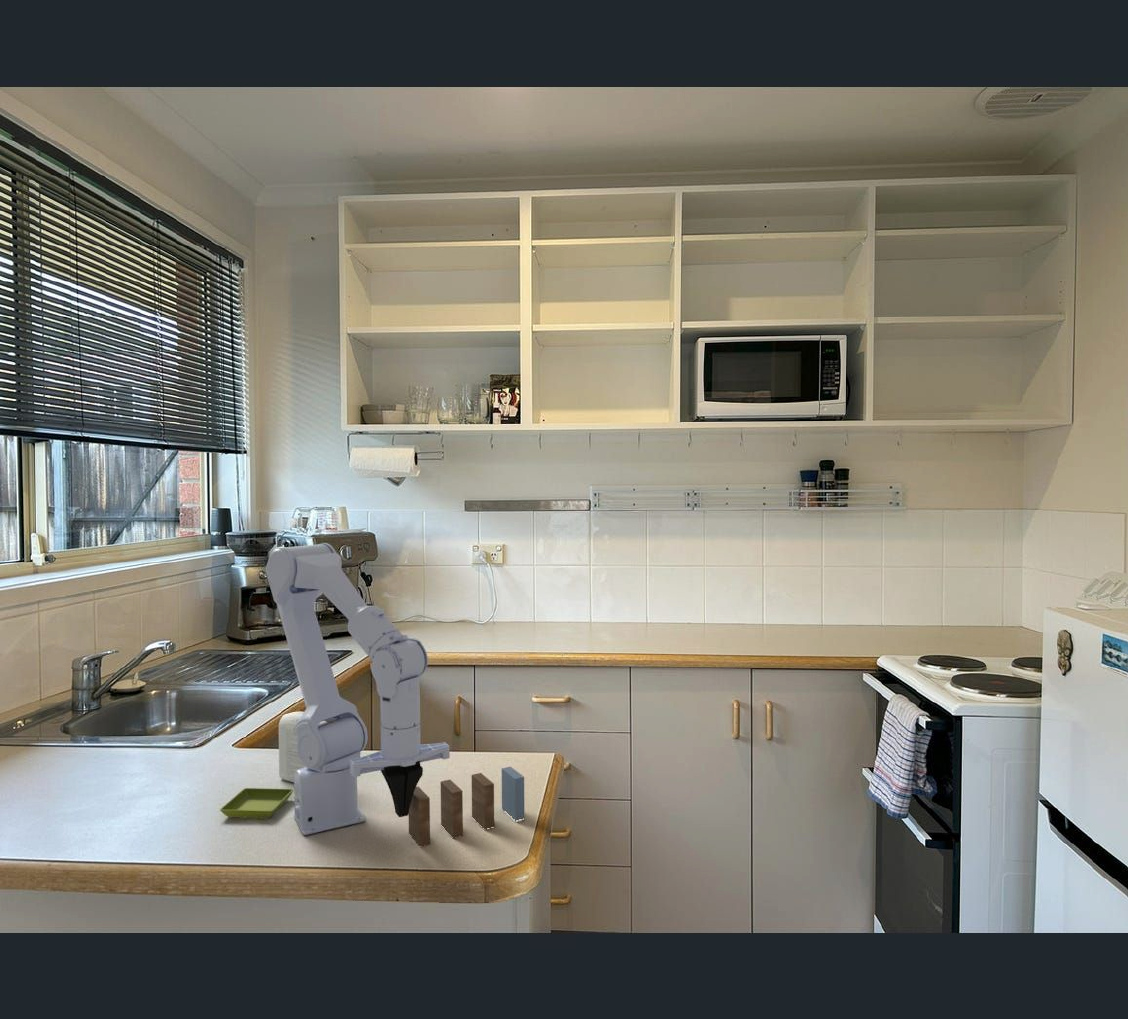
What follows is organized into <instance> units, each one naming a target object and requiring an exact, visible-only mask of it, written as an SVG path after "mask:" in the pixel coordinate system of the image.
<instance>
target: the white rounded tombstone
mask: <svg viewBox="0 0 1128 1019" xmlns="http://www.w3.org/2000/svg"><path fill="white" fill-rule="evenodd" d="M304 712H305V711H293V712H290V713H286V714H283V715H282V717H280V720H279V723H278V774H279V778H281V780H284V781H288V782H291V783H294V775H295V771H296V770H298V769H302V768H305V765H304V764H303V763H302V761H301V760H300V758H299V755H298V752H297V733H296V729H295V725H296V723H297V722H298V720H299V719H300V717H301V716H302V715H303V713H304ZM325 723H328V722H327V720H325V721H322V722H320V723H319V725H322V724H325ZM319 725H318V726H319Z"/></svg>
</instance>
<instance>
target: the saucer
mask: <svg viewBox="0 0 1128 1019" xmlns="http://www.w3.org/2000/svg"><path fill="white" fill-rule="evenodd" d="M293 792H294V788H292V789H291V788H269V787H268V788H265V787H263V788H261V787H259V788H257V787H254V788H253V787H245V788H242V789H241V790H240V791H239V792H238V793H237V794H236V795H235V796H234V797H232V799H231V800H229V801H228V802H227V803H226V804H224V805H223V806H222V807H220V808H219V811H220V812H221V813H222V814H223V815H224V816H226V817H228V818H229V817H239V818H238V819H263V818H268V819H271V817H272V816H273V815H274V814H275V813H276V812H277V811H278V810H279V809H280V808H281V807H282V806H283V805H284V804H285V803H286V802H287V801H288V800H289V798H290V797H291V796H292V794H293ZM244 817H246V818H244Z"/></svg>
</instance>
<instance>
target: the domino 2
mask: <svg viewBox="0 0 1128 1019" xmlns="http://www.w3.org/2000/svg"><path fill="white" fill-rule="evenodd" d="M463 804H464V803H463V790H462V789H461V788H460V787H459V786H458V785H457V784H456V783H455V782H454V781H453V780H452V779H446V780H441V781H440V826H441V825H442V826H443V827H444V828H445V830H446V831H447V832H448V833H449V834H450V835H451V836H452V837H453V838H454V839H456V838H455V837H458V838H460V837H459V836H462V837H463V836H464V825H463V824H464V819H463V818H464V816H463V815H464V814H463V813H464V812H463V811H464V810H463V806H464V805H463ZM442 826H441V827H442ZM443 827H442V828H443ZM444 828H443V829H444ZM445 830H444V831H445ZM446 831H445V832H446ZM447 832H446V833H447ZM448 833H447V834H448ZM449 834H448V835H449ZM450 835H449V836H450ZM451 836H450V837H451ZM452 837H451V838H452ZM453 838H452V839H453Z"/></svg>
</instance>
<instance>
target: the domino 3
mask: <svg viewBox="0 0 1128 1019" xmlns="http://www.w3.org/2000/svg"><path fill="white" fill-rule="evenodd" d="M472 817H473V818H474V819H475V820H476V821H477V822H478V823H479V824H480V825H481V826H482V827H481V826H480V825H479V826H480V827H481V828H482V829H483V828H484V829H487V828H491V827H494V828H495V783H494V782H493V781H491V780H490V779H489V778H488V777H486V776H485V775H484V774H483V773H481V772H479V773H474V774H471V818H472ZM484 829H483V830H484Z"/></svg>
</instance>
